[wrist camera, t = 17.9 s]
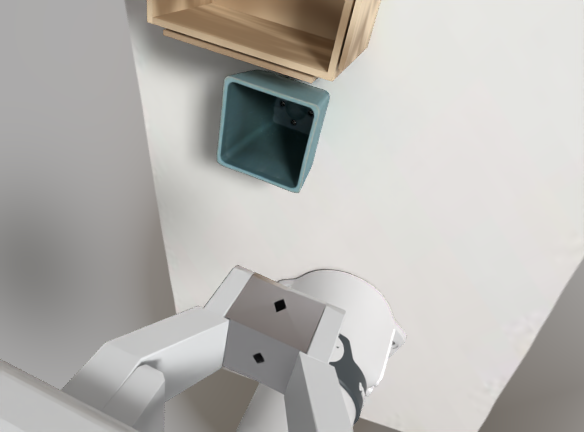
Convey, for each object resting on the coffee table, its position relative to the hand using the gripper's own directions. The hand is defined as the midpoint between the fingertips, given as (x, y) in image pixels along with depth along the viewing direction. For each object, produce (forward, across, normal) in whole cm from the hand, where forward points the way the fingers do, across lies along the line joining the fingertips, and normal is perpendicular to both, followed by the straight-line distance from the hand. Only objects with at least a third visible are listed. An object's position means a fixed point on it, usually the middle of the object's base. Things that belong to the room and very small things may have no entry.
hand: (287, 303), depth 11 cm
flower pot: (+33, +10, +9) cm, 36 cm away
